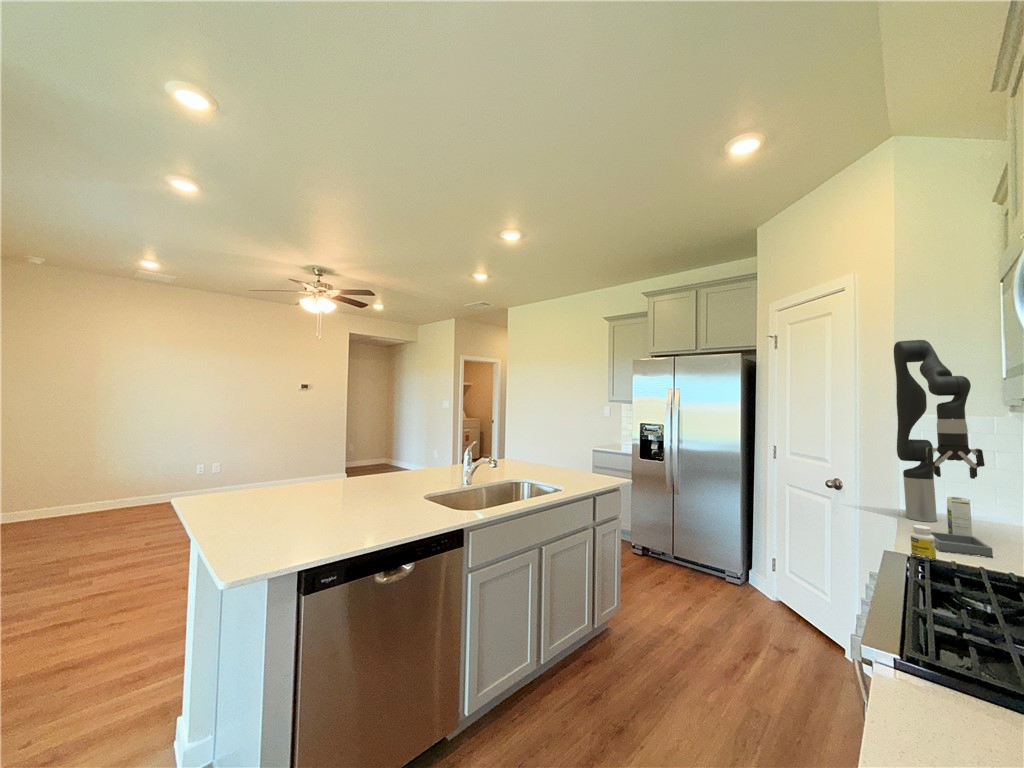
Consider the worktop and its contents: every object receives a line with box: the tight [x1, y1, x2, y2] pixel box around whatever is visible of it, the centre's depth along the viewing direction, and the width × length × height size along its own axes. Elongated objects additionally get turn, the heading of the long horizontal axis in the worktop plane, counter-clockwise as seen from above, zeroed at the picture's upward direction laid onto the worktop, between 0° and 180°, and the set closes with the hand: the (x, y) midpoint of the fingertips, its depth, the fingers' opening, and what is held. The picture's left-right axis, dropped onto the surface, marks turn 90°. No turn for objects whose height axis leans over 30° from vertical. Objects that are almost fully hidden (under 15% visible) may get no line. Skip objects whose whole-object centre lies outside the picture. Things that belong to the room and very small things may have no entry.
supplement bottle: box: [910, 524, 937, 560], centre depth 130 cm, size 5×5×10 cm
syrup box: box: [946, 496, 973, 536], centre depth 148 cm, size 6×6×14 cm
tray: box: [930, 531, 994, 559], centre depth 139 cm, size 14×12×3 cm
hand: (955, 477), depth 149 cm, fingers open, 8 cm apart
